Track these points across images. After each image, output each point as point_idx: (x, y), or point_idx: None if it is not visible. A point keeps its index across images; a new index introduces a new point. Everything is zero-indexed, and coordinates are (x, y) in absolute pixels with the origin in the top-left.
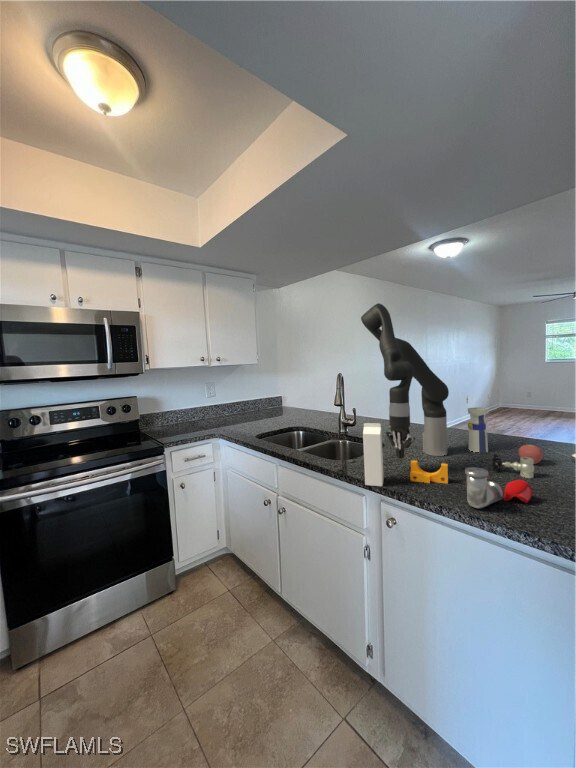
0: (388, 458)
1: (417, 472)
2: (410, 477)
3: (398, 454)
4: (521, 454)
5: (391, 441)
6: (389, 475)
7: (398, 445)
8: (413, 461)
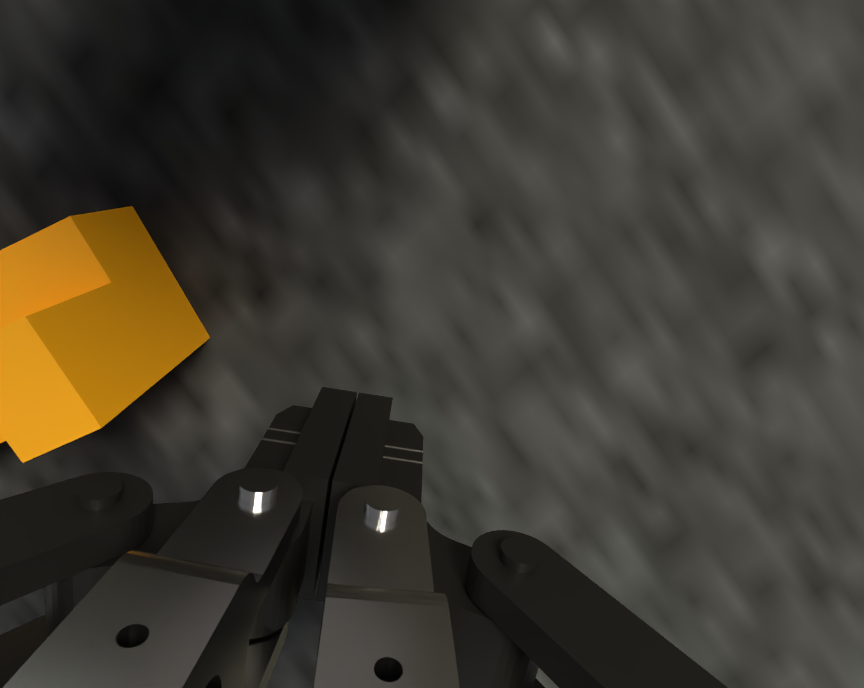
0: (753, 629)
1: (11, 290)
2: (109, 210)
3: (340, 418)
4: None
5: (584, 626)
6: (421, 171)
7: (281, 538)
8: (33, 390)
